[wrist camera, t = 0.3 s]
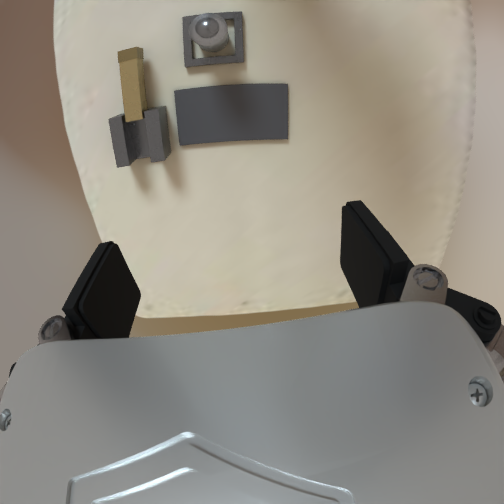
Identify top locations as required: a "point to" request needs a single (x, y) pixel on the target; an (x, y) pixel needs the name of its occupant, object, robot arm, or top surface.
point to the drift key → (132, 83)
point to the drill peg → (209, 32)
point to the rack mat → (232, 113)
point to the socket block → (140, 137)
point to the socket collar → (221, 59)
